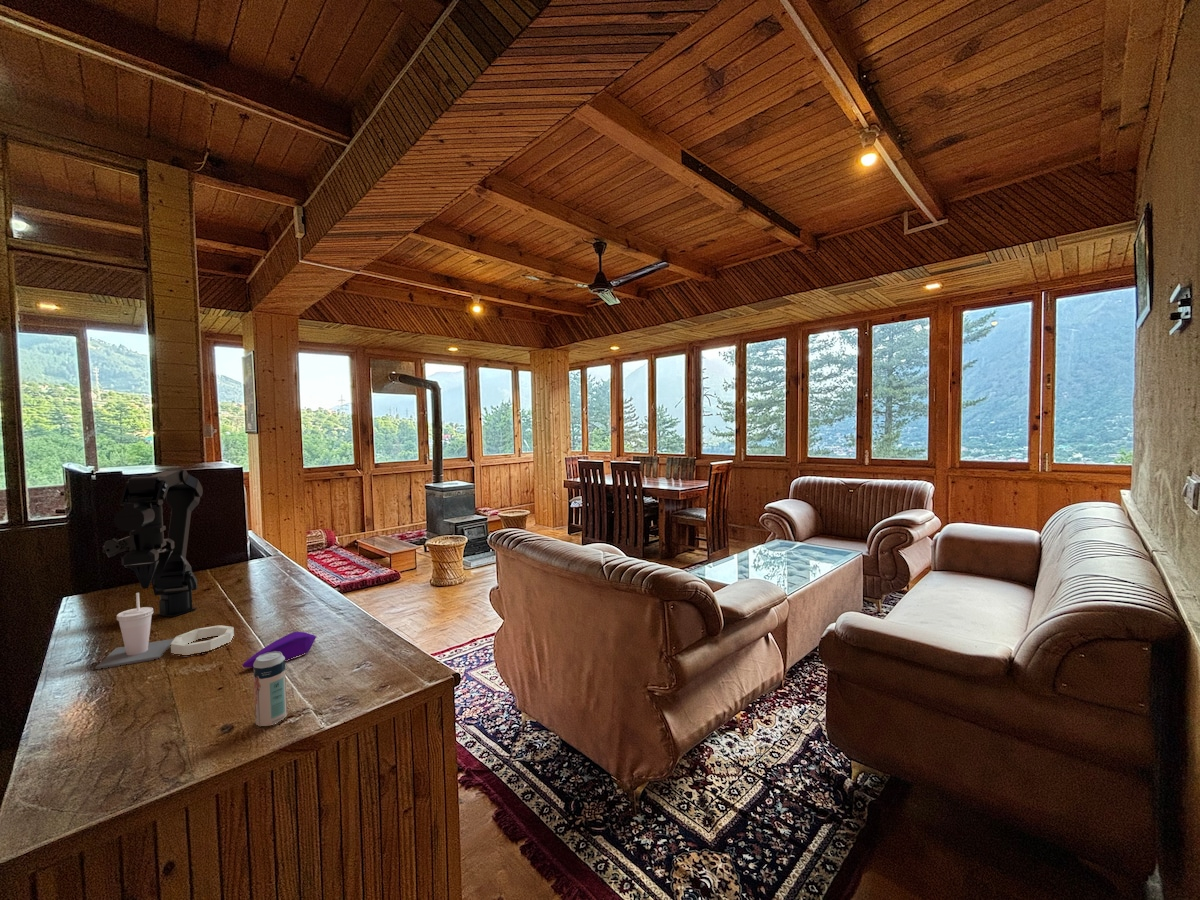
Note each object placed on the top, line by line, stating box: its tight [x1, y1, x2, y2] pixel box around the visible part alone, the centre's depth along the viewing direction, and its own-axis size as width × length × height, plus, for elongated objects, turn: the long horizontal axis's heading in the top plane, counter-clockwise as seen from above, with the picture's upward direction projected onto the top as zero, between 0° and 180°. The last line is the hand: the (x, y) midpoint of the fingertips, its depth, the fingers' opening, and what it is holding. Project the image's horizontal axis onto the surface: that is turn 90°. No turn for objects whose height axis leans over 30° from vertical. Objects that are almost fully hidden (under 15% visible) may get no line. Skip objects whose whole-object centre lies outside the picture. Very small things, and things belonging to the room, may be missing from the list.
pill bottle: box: [252, 651, 288, 727], centre depth 89 cm, size 5×5×12 cm
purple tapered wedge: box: [242, 631, 317, 668], centre depth 113 cm, size 5×5×15 cm
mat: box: [94, 638, 175, 670], centre depth 117 cm, size 11×11×1 cm
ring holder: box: [170, 624, 235, 655], centre depth 121 cm, size 12×12×2 cm
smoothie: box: [116, 592, 154, 655], centre depth 116 cm, size 6×6×14 cm
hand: (151, 583), depth 129 cm, fingers open, 9 cm apart
